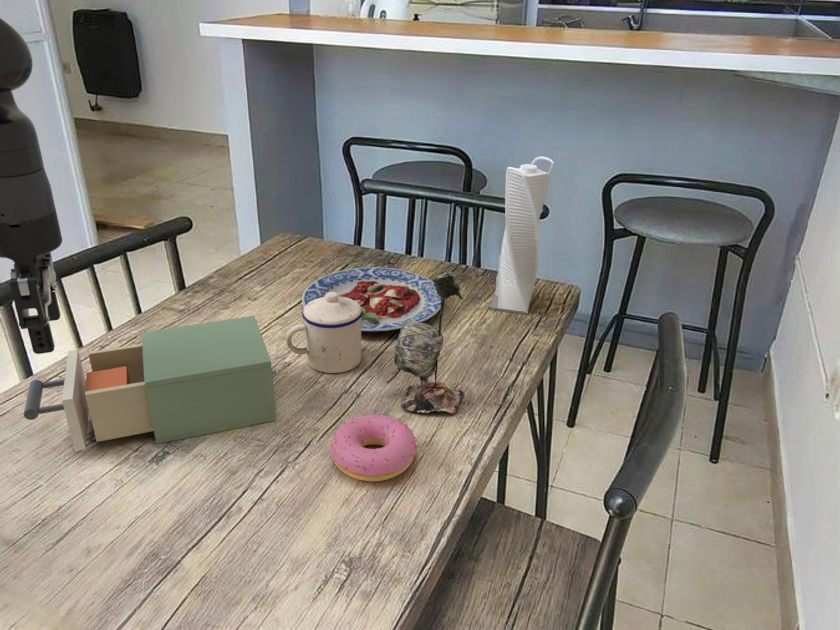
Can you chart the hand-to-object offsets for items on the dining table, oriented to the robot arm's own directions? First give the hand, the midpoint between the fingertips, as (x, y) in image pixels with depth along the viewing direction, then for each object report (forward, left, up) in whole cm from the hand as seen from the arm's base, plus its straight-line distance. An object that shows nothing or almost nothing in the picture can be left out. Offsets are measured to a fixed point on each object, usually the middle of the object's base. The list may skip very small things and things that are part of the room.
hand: (48, 335), depth 84 cm
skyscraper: (+74, +14, -15) cm, 77 cm away
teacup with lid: (+36, +6, -15) cm, 39 cm away
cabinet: (+18, 0, -15) cm, 23 cm away
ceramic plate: (+49, +22, -15) cm, 56 cm away
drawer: (+5, 0, -14) cm, 15 cm away
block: (+5, 0, -13) cm, 14 cm away
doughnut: (+36, -19, -15) cm, 43 cm away
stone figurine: (+47, -9, -15) cm, 50 cm away
